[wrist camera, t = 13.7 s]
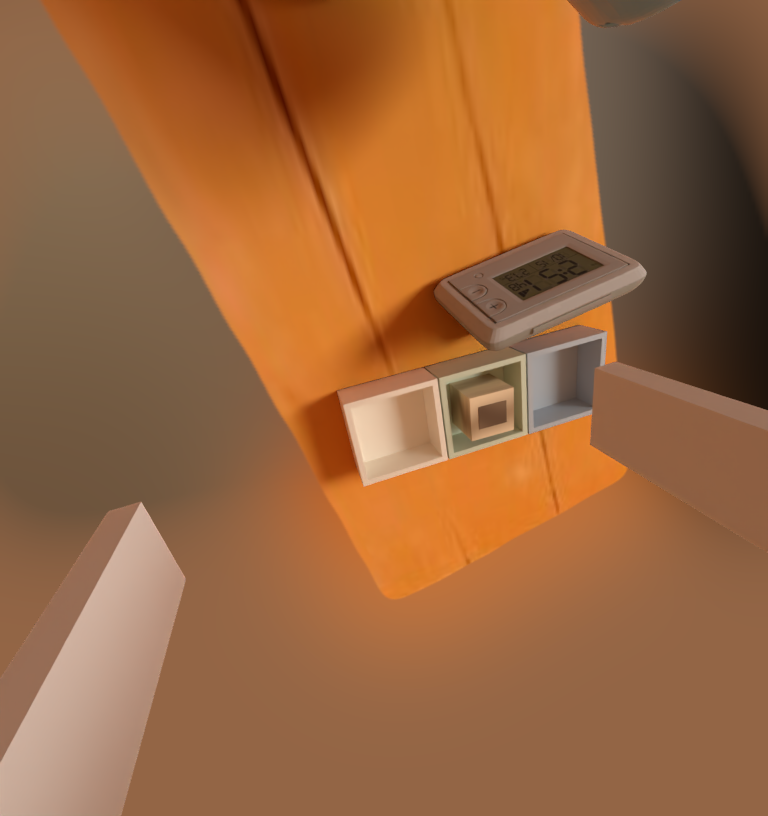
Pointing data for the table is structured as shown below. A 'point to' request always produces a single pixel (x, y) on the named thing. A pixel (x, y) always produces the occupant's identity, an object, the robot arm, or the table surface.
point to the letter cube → (482, 406)
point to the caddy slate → (561, 374)
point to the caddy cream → (394, 424)
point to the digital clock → (536, 287)
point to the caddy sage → (497, 363)
